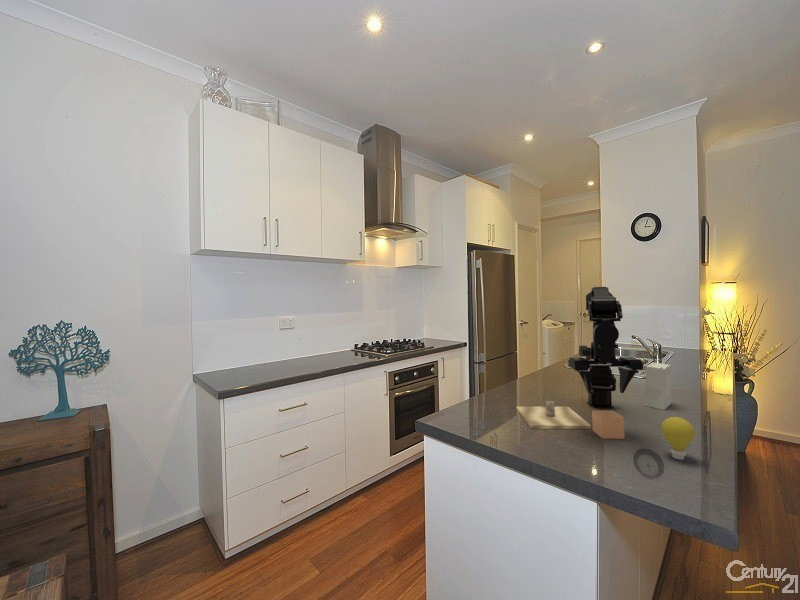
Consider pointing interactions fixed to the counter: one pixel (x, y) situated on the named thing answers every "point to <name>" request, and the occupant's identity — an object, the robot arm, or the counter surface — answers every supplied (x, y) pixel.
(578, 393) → the counter surface
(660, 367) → the skincare box
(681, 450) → the light bulb
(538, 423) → the post base
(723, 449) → the counter surface
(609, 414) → the tan cardboard-like cube
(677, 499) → the counter surface
